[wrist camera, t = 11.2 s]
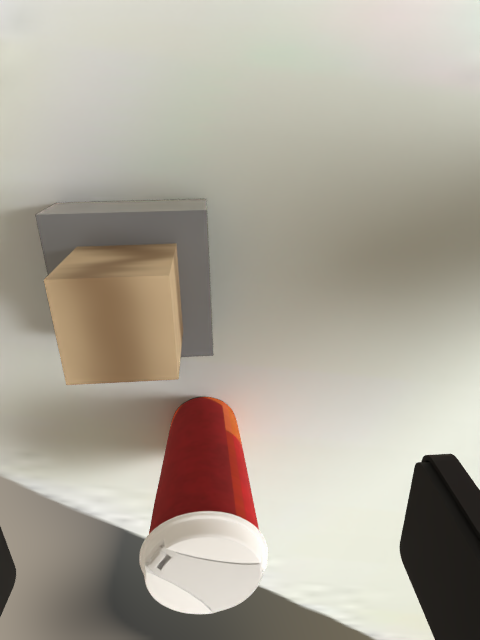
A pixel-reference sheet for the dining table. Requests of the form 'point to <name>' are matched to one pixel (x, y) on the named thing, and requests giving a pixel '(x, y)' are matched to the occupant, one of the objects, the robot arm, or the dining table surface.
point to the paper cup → (203, 516)
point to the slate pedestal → (141, 229)
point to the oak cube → (117, 313)
